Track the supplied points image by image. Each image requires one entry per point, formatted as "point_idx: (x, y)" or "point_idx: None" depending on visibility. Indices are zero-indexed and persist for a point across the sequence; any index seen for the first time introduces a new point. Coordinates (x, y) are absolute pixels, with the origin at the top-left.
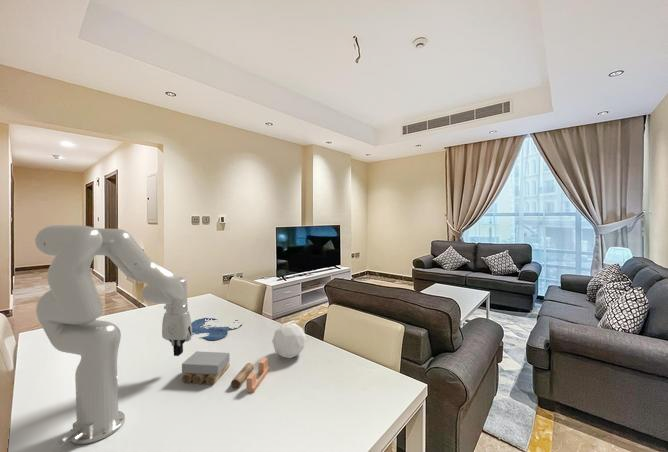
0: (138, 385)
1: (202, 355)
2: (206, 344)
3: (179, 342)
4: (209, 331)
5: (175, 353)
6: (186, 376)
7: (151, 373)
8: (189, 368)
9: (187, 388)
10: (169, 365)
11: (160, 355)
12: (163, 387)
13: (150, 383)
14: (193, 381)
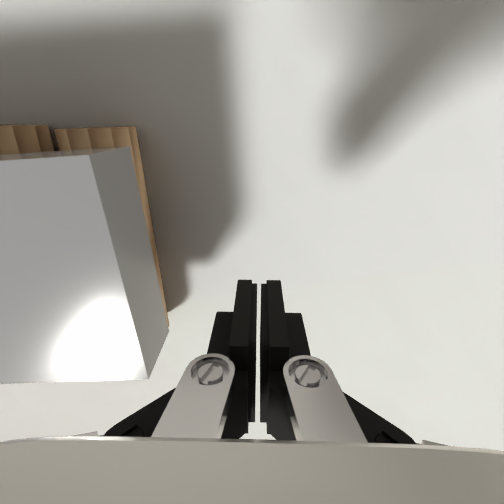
0: (441, 33)
1: (35, 328)
2: None
3: (181, 405)
4: None
5: (262, 293)
6: (82, 128)
7: (431, 202)
8: (36, 155)
9: (48, 61)
10: (365, 301)
11: (484, 384)
12: (229, 42)
13: (362, 78)
14: (43, 125)
